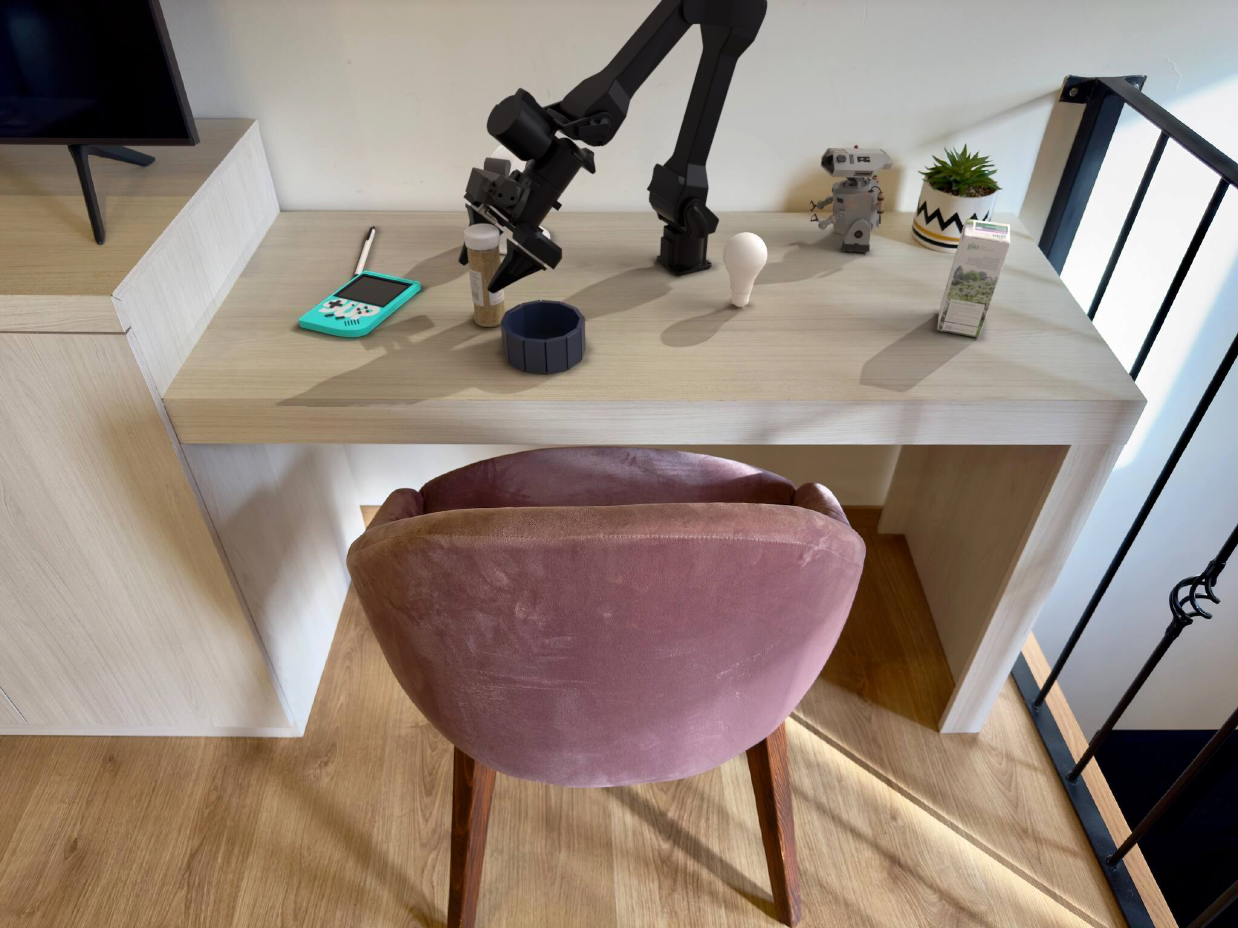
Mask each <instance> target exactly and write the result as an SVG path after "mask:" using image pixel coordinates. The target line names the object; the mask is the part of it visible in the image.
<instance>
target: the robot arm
mask: <svg viewBox="0 0 1238 928" xmlns="http://www.w3.org/2000/svg"><path fill="white" fill-rule="evenodd" d="M767 11H768V0H660V2H659V3H658V4H657V5H656V6H655V7H654V9H653V10H652V11H650V14H648V16H647V17H646V18H645V19H644V20H643V22H642V23H641V24H640V26H638V28H637V29H636V30H635V31H634V32H633V34H632V35H631V36H630V37H629V39H628V40H626V42H625V43H624V44H623V45H622V47H621V48H620V49H619V50H618V51H617V53H615V55H614V56H613V58H612V59H611V60H610V61H609V62H608V64H607V65H606V66H605V67H603V69H601V70H600V71H599V72H597V73H594V74H593V75H590V76H588V77H587V78H584V79H582V81H580V82H579V83H578V84H577V85H576V86H575V87H573V88H572V89H571V90H570V91H569V92H568V93H567V94H566V95H565V96H564V97H563V99H562V100H559V101H556V102H553V103H550V104H547V105H544V106H542V105H540V103H539V102H537V100H536V98H535V97H534V95H532V94H531V92H529V91H528V90H526V89H524V88H522V87H518V88H517V90H516V92H515V93H514V94H512V95H509V96H506V97H505V98H504V99H502V100H501V101H500V102H499V103H497V104H495V105H494V107H493V108H492V109H491V111H490V113H489V115H488V117H487V121H486V132H487V133H488V134H489V135H490V136H491V137H492V138H493V139H495V140H496V142H498V143H499V144H501V145H503V146H504V147H505V148H507V149H508V150H509V151H510V152H511V153H512V154H514V155H515V156H516V157H517V158H518V159H520V160H521V161H529V160H531V161H530V162H529V164H528V165H527V166H526V168H525V169H524V171H523V172H520V171H519V170H517V169H516V170H514V171H512V173H511V174H510V175H509V177H505V176H503V175H499V174H496V173H493V172H489V171H486V170H484V169H482V168H479V167H474V166H473V167H472V168H471V171H470V175H469V178H468V181H467V184H466V188H465V194H464V195H463V199H465V200H466V201H467V202H468V203H470V204H468V203H467V202H465V204H464V207H465V209H466V211H467V215H468V220H469V221H468V222H469V223H468V227H469V226H472V225H475V224H491V225H494V226H496V223H498V224H499V225H501V226H502V227H504V226H505V227H506V228H508V229H509V230H510V231H511V232H512V233H513V235H512V238H513V239H514V240H515V241H516V242H517V243H518V244H517V245H516V244H515V243H513V242H512V241H510V240H509V239H508V238H507V240H506V242H507V254H506V255H505V256H504V258H503V259H502V261H501V264H500V266H499V268H498V269H497V271H496V273H495V274H494V276H493V278H492V279H491V281H490V283H489V285H488V287H487V290H488V291H489V292H491V293H496V292H498V291H499V290H501V289H503V290H504V289H505V288H507V287H509V286H511V285H512V284H515V283H516V282H518V281H520V280H522V279H524V278H526V277H528V276H530V275H533V274H535V273H537V272H539V271H543V272H545V271H547V270H548V267H549V268H550V269H552V270H553V271H554V270H555V269H556V268H557V267H558V265H559V263H560V262H561V261H562V259H563V248H562V247H561V246H559V245H558V244H556V243H555V242H554V241H553V240H551V238H550V239H549V238H547V237H546V236H545V235H544V234H542V233H543V231H544V230H543V229H541V228H540V227H539V226H540V225H541V224H542V222H543V221H544V220H545V219H546V218H547V215H549V213H550V211H551V210H552V209H554V210H556V211H557V212H559V210H560V209H561V208H562V206H563V204H562V203H560V202H559V201H558V200H559V199H560V198H561V196H562V194H564V192H565V191H566V189H567V188H568V186H569V185H570V184H571V182H572V181H573V179H574V178H575V176H576V175H577V174H578V173H579V171H580V170H581V169H583V170H585V171H586V172H588V173H589V174H591V175H594V174H596V171H597V170H596V169H597V168H596V163H595V152H594V151H593V150H592V149H589V148H588V147H586V146H585V147H580V146H578V144H576V143H575V141H581V142H582V143H583V144H586V145H587V146H590V147H593V148H596V147H605V146H607V145H608V144H609V143H610V142H611V141H612V140H613V139H614V138H615V136H616V134H617V133H618V131H619V130H620V129H621V127H622V125H623V123H624V122H625V120H626V119H627V116H628V112H629V108H630V103H631V100H632V99H633V98H634V96H635V94H636V93H637V92H638V90H639V89H640V88H641V86H642V85H643V84H644V83H645V82H646V80H648V78H649V77H650V76H651V75H652V73H653V72H654V71H655V70H656V69H657V68H658V66H659V65H660V64H661V63H662V62H663V61H664V59H665V58H666V57H667V56H668V55H669V53H670V52H671V51H672V50H673V49H674V48H675V46H676V45H677V44H678V43H679V41H680V40H681V39H682V38H683V37H684V36H685V34H686V33H688V31H689V30H690V29H691V27H692V26H693V25H699V28H700V29H699V30H700V36H701V42H702V43H701V44H702V50H701V55H700V59H699V61H698V65H697V68H696V71H695V76H694V80H693V83H692V86H691V90H690V93H689V96H688V100H687V104H686V107H685V111H684V114H683V118H682V122H681V125H680V129H679V131H678V135H677V139H676V142H675V146H674V150H673V152H672V155H671V156H670V157H669V159H667V161H666V162H664V163H663V164H660V163H658V162H657V163H655V165H654V166H653V169H652V175H651V180H650V183H649V185H648V186H647V188H646V191H648V193H649V194H648V203H649V204H650V206H651V209H652V210H653V211H654V212H656V216H657V219H658V220H659V221H662V222H663V223H664V224H666V225H663V229H662V230H663V231H662V236H661V237H660V244H659V245H660V246H659V247H660V248H659V255H656V260H657V261H658V262H659V263H660V264H661V265H663V266H664V267H665V268H667V269H668V270H669V271H670V272H672V273H673V274H674V275H676V276H682V275H687V274H690V273H694V272H698V271H702V270H705V269H706V270H707V269H709V268H712V267H713V263H712V262H711V261H710V260H709V259H707V256H708V255H707V253H708V243H709V235H712V234H715V233H716V231H717V228H718V225H719V222H720V218H719V217H718V216H717V215H716V214H715V213H714V212H713V211H712V210H711V209H710V208H709V207H708V206H707V201H708V195H709V189H710V187H709V186H710V185H709V179H708V172H707V162H708V158H709V155H710V152H711V148H712V145H713V142H714V138H715V136H716V132H717V128H718V125H719V122H720V119H721V116H722V114H723V113H722V112H723V109H724V106H725V103H726V99H727V97H728V92H729V90H730V86H731V83H732V79H733V77H734V74H735V71H736V66H737V63H738V60H739V59H740V58H741V57H742V55H744V53H745V52H746V51H747V50H748V48H749V47H750V46H751V45H752V44H753V43H754V42H755V40H756V39H757V36H758V34H759V31H760V29H761V27H762V25H763V23H764V20H765V17H766V15H767ZM558 132H559V133H561V135H564V137H558V136H557V135H556V134H557V133H558ZM512 225H513V226H514V227H513V226H512ZM496 227H497V226H496ZM497 228H498V230H499V235H501V234H503V233H504V232H503V231H502V230H501V229H500V228H499V227H497ZM458 263H459V264H460V265H462V266H463V267H465V266H467V265H469V261H468V252H467V247H466V245H465V240H464V241H463V244H462V247H461V250H460V253H459V257H458ZM545 265H546V266H548V267H546V266H545Z"/></svg>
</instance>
